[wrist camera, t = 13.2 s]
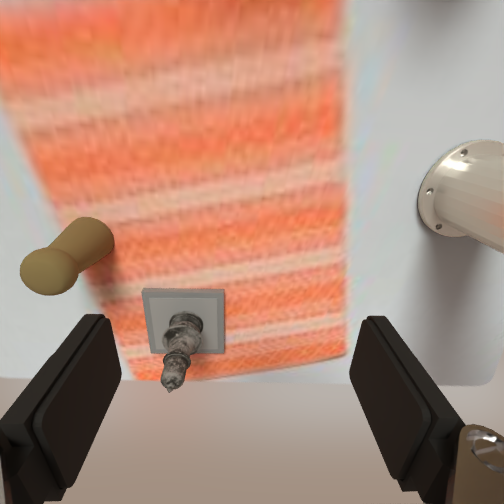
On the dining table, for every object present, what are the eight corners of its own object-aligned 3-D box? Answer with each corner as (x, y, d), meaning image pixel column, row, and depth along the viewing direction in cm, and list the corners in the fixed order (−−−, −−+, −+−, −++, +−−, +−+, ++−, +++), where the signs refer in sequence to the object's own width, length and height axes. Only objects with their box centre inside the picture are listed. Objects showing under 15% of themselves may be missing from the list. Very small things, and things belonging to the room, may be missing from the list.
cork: (87, 264, 40) (37, 312, 30) (57, 228, 38) (-7, 268, 28) (123, 247, 39) (84, 291, 29) (95, 209, 37) (42, 243, 27)
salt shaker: (201, 341, 46) (190, 411, 35) (165, 336, 45) (141, 405, 34) (208, 313, 43) (198, 378, 32) (169, 306, 42) (145, 371, 32)
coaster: (224, 289, 43) (223, 293, 42) (224, 348, 48) (224, 353, 47) (143, 288, 42) (141, 292, 41) (152, 348, 47) (150, 354, 46)
